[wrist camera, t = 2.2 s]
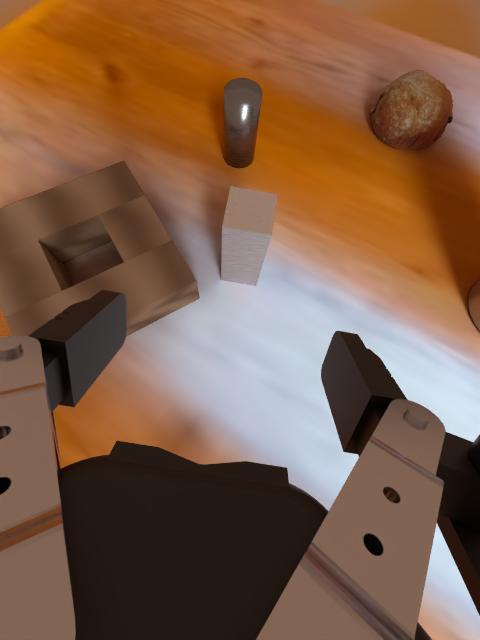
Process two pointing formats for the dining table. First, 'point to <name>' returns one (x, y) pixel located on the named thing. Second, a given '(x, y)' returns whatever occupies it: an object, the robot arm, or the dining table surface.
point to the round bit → (241, 121)
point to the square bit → (246, 234)
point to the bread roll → (412, 111)
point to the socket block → (80, 237)
